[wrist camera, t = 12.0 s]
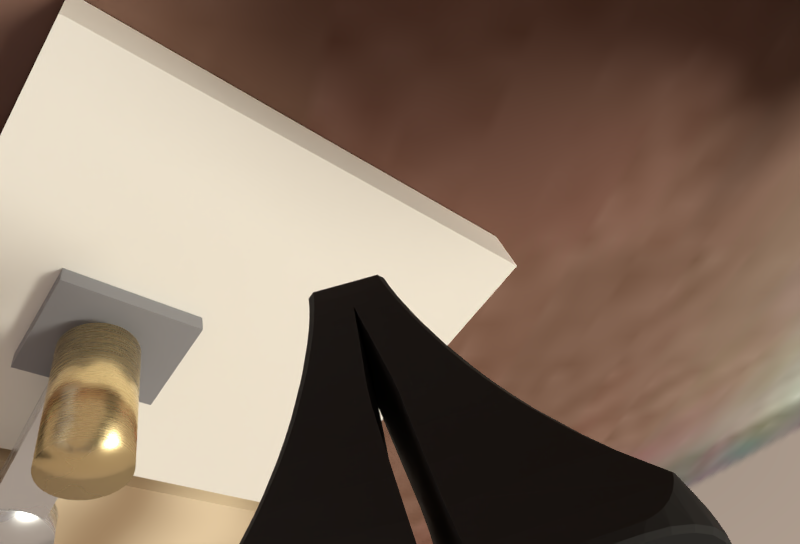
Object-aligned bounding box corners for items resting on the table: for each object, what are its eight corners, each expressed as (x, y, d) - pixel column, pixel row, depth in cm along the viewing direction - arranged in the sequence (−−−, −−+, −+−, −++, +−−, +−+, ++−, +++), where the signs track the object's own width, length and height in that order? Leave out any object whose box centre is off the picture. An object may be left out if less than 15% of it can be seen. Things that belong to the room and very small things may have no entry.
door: (-115, 374, 22) (-143, 433, 20) (68, -8, 17) (55, 20, 15) (295, 473, 31) (304, 522, 29) (495, 236, 26) (523, 275, 24)
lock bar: (39, 550, 25) (17, 674, 21) (-61, 538, 23) (-102, 671, 20) (166, 340, 21) (166, 451, 17) (58, 308, 19) (34, 423, 16)
